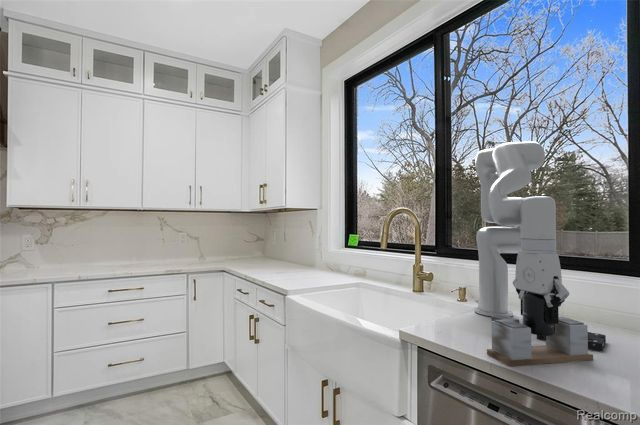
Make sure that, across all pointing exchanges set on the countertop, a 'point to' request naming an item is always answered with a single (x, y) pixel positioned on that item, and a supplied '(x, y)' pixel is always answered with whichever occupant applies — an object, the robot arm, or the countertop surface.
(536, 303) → the supplement bottle
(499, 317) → the block
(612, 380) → the countertop surface
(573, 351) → the rail
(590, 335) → the disk drive
